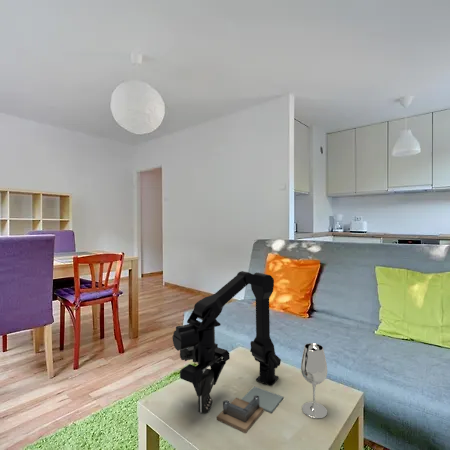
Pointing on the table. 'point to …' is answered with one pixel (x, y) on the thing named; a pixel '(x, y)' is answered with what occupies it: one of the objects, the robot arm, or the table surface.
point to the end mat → (264, 398)
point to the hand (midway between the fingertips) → (206, 390)
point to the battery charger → (206, 391)
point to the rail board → (238, 423)
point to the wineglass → (314, 376)
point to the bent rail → (241, 409)
